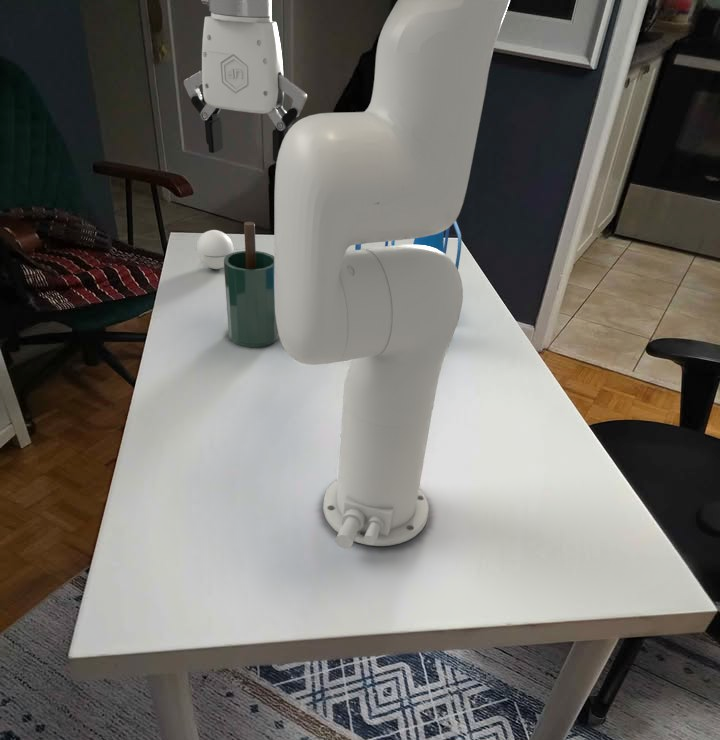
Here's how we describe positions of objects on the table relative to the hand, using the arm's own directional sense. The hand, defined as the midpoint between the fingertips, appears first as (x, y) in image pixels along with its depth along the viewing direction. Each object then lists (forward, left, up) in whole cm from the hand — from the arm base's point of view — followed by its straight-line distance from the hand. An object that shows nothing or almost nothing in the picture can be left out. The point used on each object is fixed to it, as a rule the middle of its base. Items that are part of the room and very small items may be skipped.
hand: (247, 155), depth 91 cm
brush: (+1, 0, -28) cm, 28 cm away
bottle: (+10, -26, -28) cm, 40 cm away
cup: (0, 0, -28) cm, 28 cm away
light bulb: (+24, +17, -28) cm, 41 cm away
